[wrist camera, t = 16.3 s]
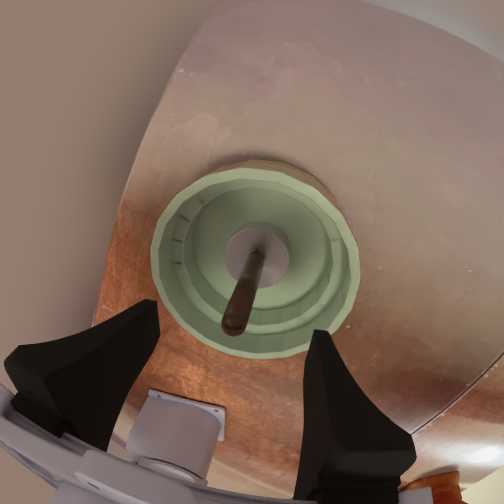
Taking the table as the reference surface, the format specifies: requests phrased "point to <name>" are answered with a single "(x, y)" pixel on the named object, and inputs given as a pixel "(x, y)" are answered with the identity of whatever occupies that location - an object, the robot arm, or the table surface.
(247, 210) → the bowl
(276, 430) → the table surface
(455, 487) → the ceramic vessel
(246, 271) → the peg on round base
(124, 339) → the robot arm
